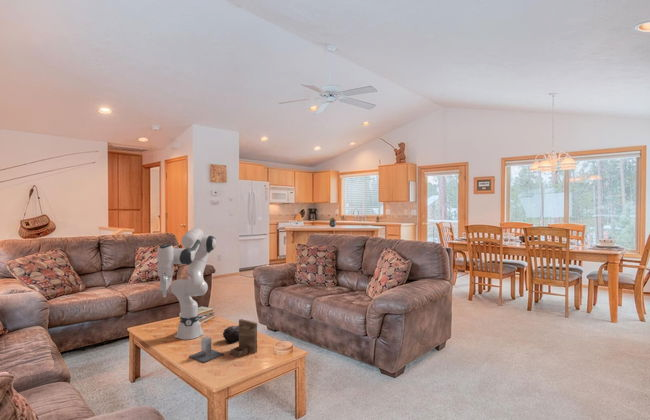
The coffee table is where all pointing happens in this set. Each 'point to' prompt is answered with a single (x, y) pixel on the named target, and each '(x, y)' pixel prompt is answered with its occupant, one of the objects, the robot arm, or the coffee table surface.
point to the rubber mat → (205, 359)
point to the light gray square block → (206, 346)
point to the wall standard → (246, 338)
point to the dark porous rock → (231, 334)
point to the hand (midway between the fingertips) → (165, 295)
